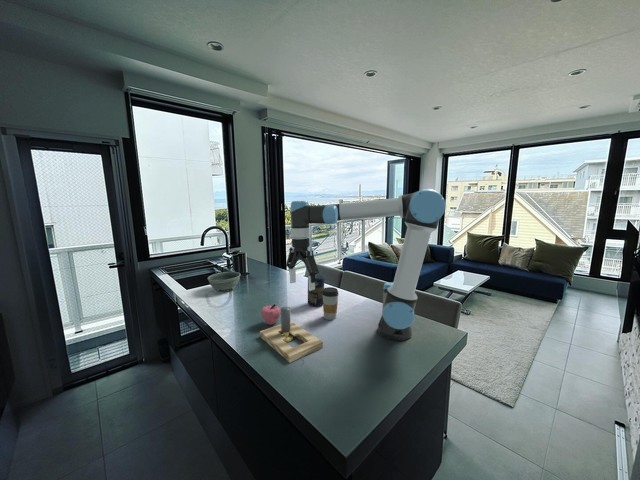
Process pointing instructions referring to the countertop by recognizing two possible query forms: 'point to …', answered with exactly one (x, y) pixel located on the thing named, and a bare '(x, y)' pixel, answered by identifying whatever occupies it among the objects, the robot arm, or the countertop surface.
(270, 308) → the apple
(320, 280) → the canister
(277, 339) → the keyhole board
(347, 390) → the countertop surface
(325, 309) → the coffee cup
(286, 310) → the peg
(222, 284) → the bowl
